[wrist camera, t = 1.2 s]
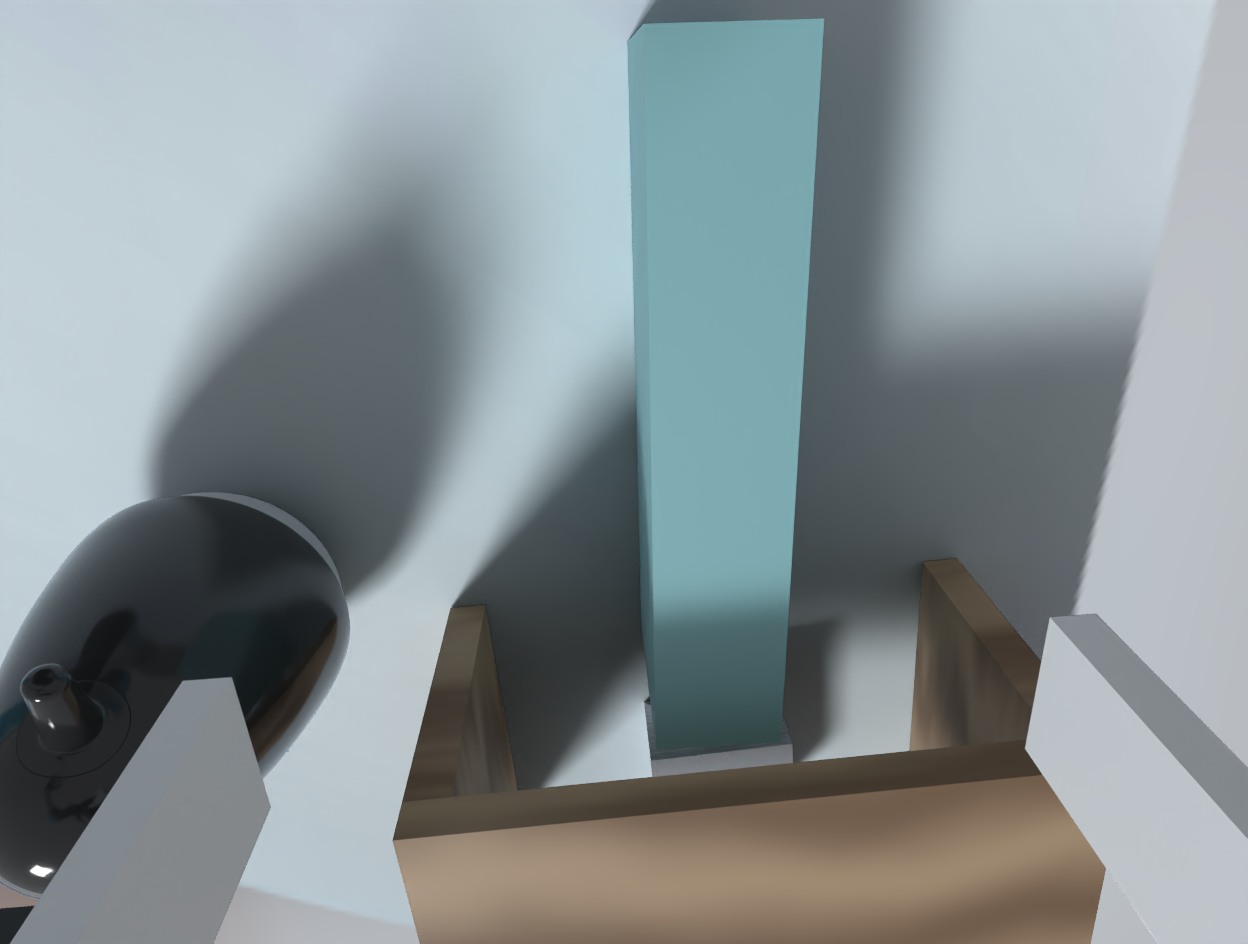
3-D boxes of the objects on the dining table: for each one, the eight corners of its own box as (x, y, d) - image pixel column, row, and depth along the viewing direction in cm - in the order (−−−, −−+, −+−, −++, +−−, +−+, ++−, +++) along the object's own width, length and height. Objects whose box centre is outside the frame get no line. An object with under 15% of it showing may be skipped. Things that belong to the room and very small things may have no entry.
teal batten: (627, 41, 28) (644, 23, 21) (761, 37, 28) (824, 18, 21) (640, 622, 38) (655, 749, 30) (741, 617, 38) (780, 742, 31)
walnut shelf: (450, 608, 37) (392, 840, 25) (956, 558, 37) (1126, 766, 25) (491, 815, 42) (458, 1088, 30) (938, 770, 42) (1073, 1025, 30)
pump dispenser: (381, 472, 34) (244, 733, 20) (362, 682, 38) (237, 1020, 24) (111, 430, 33) (-233, 678, 19) (122, 652, 37) (-155, 990, 23)
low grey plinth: (643, 699, 39) (650, 760, 36) (772, 683, 39) (792, 743, 36) (655, 796, 42) (663, 863, 38) (776, 781, 42) (795, 847, 38)
